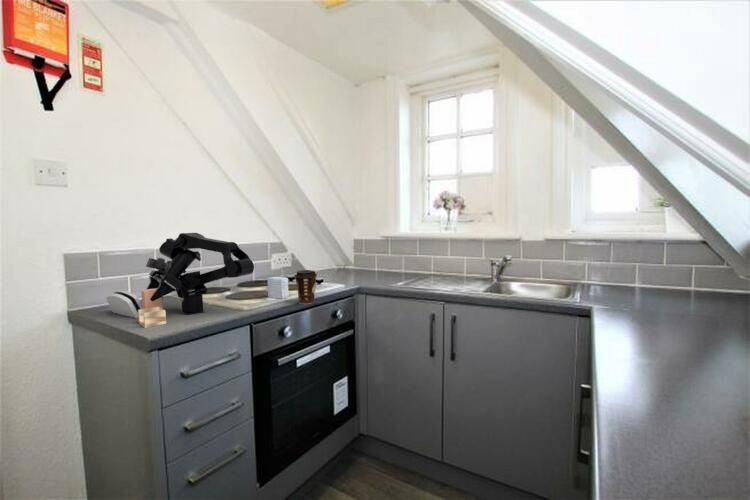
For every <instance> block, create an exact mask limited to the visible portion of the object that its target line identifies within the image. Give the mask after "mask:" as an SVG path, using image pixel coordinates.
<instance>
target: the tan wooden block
mask: <svg viewBox="0 0 750 500" xmlns="http://www.w3.org/2000/svg"><path fill="white" fill-rule="evenodd" d="M166 311H167V310H166V309H163V310H160V309H159V307H153V308H147V309H141V310H138V324H140V325H141V326H142V327H143V328H144V329H145V328H146V329H147V328H151V327H156V326H157V327H158V326H161V325H165V324H166V325H167V313H166Z"/></svg>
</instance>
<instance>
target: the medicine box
mask: <svg viewBox="0 0 750 500" xmlns="http://www.w3.org/2000/svg"><path fill="white" fill-rule="evenodd" d="M268 297H269V298H270V299H278V300H279V299H280V300H284V299H288V298H289V278H288V277H284V276H283V277H280V276H273V277H272V276H271V277H268V278H267V298H268ZM269 298H268V299H269Z"/></svg>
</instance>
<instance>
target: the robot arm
mask: <svg viewBox="0 0 750 500" xmlns="http://www.w3.org/2000/svg"><path fill="white" fill-rule="evenodd" d="M192 249H195V250H196V249H199V250H206V251H209V252H216V253H221V255H222V256H223V257H222V259H223V264H224V266H223V267H220V268H216V269H213V270H210V271H207V272H204V273H201V271H200V270H197V271H192V272H187V269H188V268H189V267H190V266H191V265H192V264H193V262H194V261H195V260H197V261H199V262H201V261H202V258H201V253H200V252H199V251H198V250H197V251H194V250H192ZM159 253H160V254H161V255H163V256H165V257H167V258H168V259H170V260H167V261H166V260H165V258H163V257H158V258H156V259H155V258H151V257H149V258H148V261H147V263H146V265H145V267H146V268H149V269H150V268H151V269H153V270H151V271H150V272H149V273H148V278H149V283H148V285H147V287H146V289H145V290H147V289H154V288H157V290H156V291H155V292H154V294H153V295H152V297H151V298H150V300H151V301H155V300H157V299H159V298H161V297H163V298H164V296H166V295H169V294H172V293H173V292H176V294H177V297H178V298H180V299H181V300H180V305H181V312H182V313H183V314H184V315H192V314H193V315H194V314H198V313H200V314H201V313H205V310H204V301H203V300H204V299H203V295H206V294H207V292H208V288H207V287H206V284H209V283H212V282H216V281H220V280H223V279H226V278H227V279H231V278H239V277H245V276H249V275H252V274H253V273H254V271H255V264H254V262H253V261H252V259H251V258H250V257H249V255H248V254H247V253H246V252H245V251H243V249H241V248H240V247H239V245H238V244H237V243H236V242H234V241H227V240H221V239H213V238H208V237H206V236H204V234H201V233H199V232H181V233H179V235H178V237H176V238H175V239H173V238H166V239H165V241H164V242H163V243H162V244H161V245H160V246H159ZM232 255H233V256H234V257H235V258H236V259H233V257H232ZM154 269H155V270H154Z"/></svg>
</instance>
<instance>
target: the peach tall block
mask: <svg viewBox="0 0 750 500" xmlns="http://www.w3.org/2000/svg"><path fill="white" fill-rule="evenodd" d="M146 289H147V288H146ZM146 289H141V291H140V292H141V304H142V308H143V309H147V308H153V307H159V309H160V310H164V299H163V298H164V296H163V297H161V298H159V299H157V300H155V301H151V300H150V298H151V297H152V295H153V294H154V292H155V291H156V290H157V288H154V289H147V290H146Z"/></svg>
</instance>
